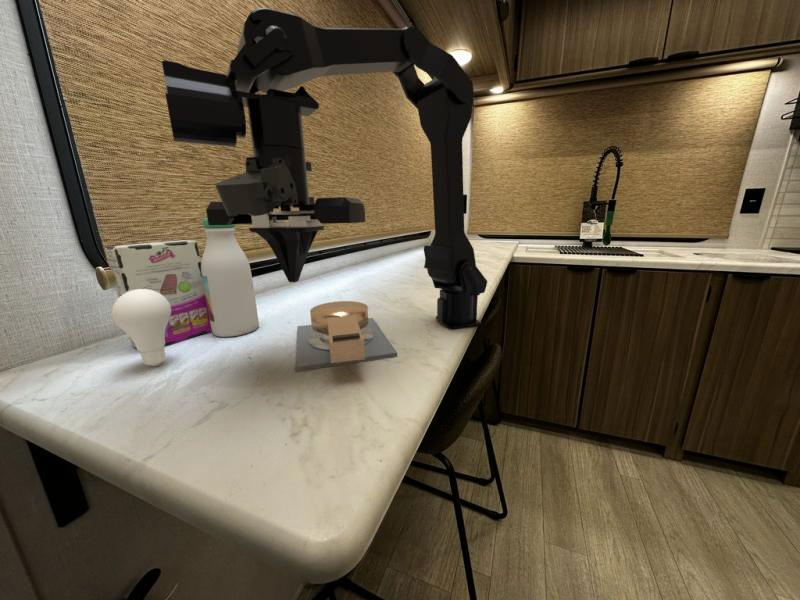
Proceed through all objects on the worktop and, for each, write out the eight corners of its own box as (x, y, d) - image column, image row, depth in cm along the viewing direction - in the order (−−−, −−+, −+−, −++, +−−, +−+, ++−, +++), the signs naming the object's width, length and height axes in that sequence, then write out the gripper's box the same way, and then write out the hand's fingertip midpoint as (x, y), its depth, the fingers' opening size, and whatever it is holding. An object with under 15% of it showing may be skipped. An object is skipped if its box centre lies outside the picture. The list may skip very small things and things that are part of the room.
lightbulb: (117, 372, 42) (95, 293, 40) (163, 353, 48) (147, 283, 45) (147, 379, 40) (126, 296, 38) (192, 359, 46) (176, 285, 43)
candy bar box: (201, 326, 60) (184, 239, 56) (215, 331, 57) (198, 240, 53) (129, 347, 51) (102, 245, 47) (142, 353, 48) (114, 246, 44)
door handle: (312, 318, 54) (310, 302, 53) (364, 313, 56) (363, 297, 55) (309, 366, 36) (306, 342, 36) (385, 356, 38) (384, 334, 38)
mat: (372, 320, 61) (372, 314, 61) (397, 356, 45) (397, 348, 45) (297, 329, 57) (297, 323, 57) (296, 371, 41) (295, 363, 41)
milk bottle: (267, 323, 61) (252, 217, 56) (244, 338, 53) (225, 217, 48) (229, 323, 62) (211, 218, 56) (202, 337, 54) (178, 218, 49)
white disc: (366, 324, 57) (366, 313, 57) (379, 345, 48) (379, 333, 47) (307, 331, 55) (306, 320, 54) (309, 355, 45) (307, 342, 44)
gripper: (149, 142, 31) (180, 293, 35) (318, 125, 27) (332, 301, 31) (231, 160, 42) (248, 275, 46) (363, 150, 37) (369, 279, 41)
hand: (293, 281), depth 41 cm, fingers closed
